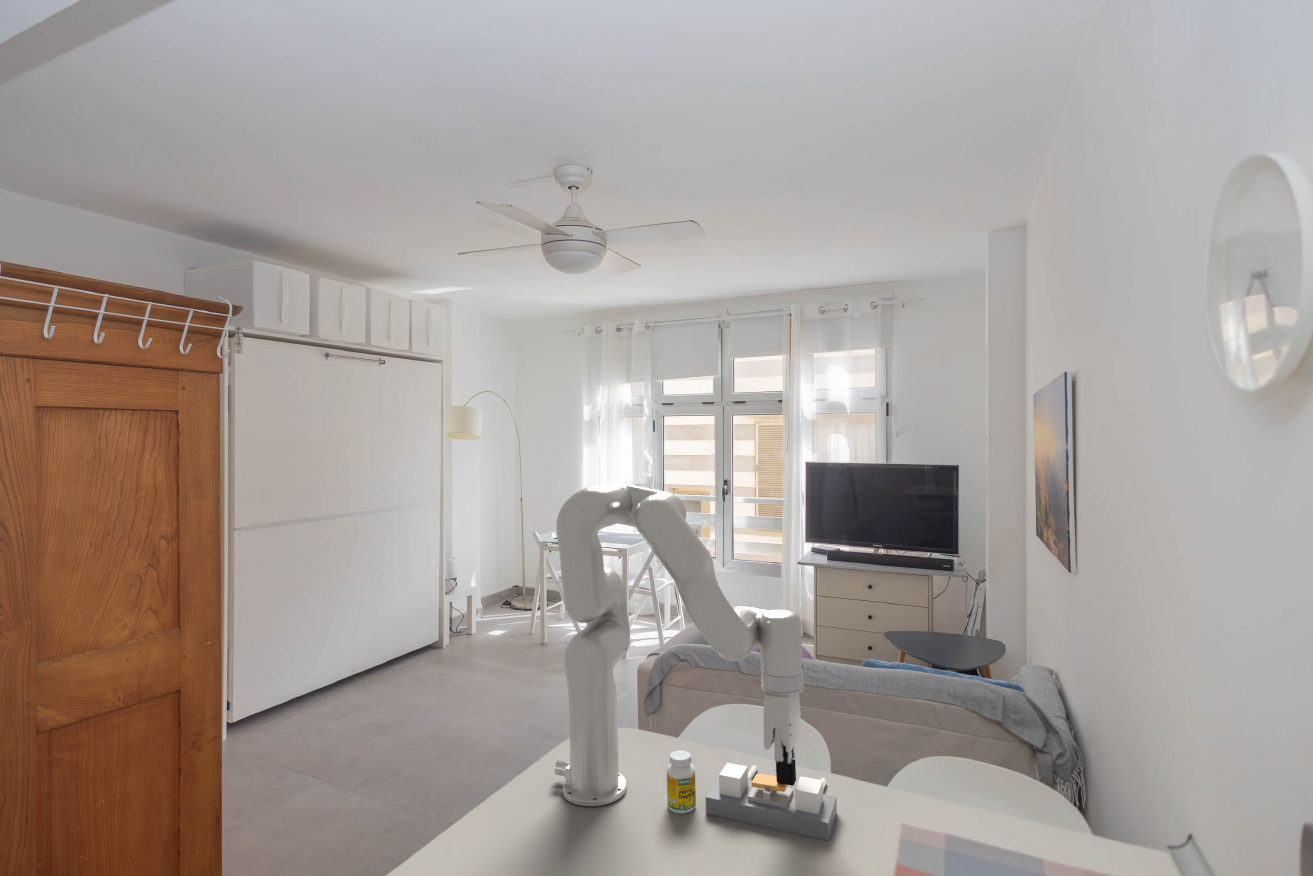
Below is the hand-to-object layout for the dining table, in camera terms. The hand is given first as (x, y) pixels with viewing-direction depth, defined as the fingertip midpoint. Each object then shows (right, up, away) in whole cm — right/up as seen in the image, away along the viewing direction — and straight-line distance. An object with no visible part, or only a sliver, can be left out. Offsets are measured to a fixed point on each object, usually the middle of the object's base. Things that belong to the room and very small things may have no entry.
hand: (786, 782), depth 118 cm
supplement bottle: (-19, -7, +4) cm, 20 cm away
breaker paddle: (-3, -1, +1) cm, 3 cm away
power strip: (-1, -6, +6) cm, 8 cm away
